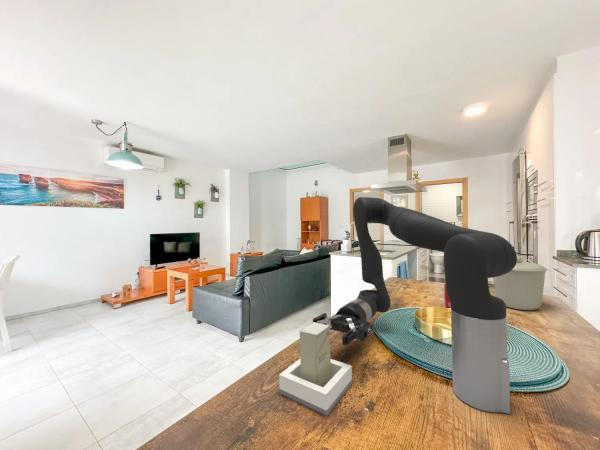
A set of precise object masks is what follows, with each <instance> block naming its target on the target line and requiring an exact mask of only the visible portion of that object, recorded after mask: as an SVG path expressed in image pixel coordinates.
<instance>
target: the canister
mask: <svg viewBox="0 0 600 450" xmlns="http://www.w3.org/2000/svg"><path fill="white" fill-rule="evenodd" d="M548 270H549V269H548V267H544V266H543V265H542V264H538V263H536V262H530V261H529V262H527V261H523V257H522V256H520V255H517V263H516V265H515V267H514V268H513V269H512V270H511V271H510V272H508V273H506V274H504V275H501V276H498V277H493V285H494V291H495V297H498V298H500V299H502V300H503V301H504V302H505V304H506V308H510V309H514V310H520V311H534V310H537V309H539V308H540V307H541V305H542V301H543V295H544V286H545V280H546V279H545V277H546V272H547V271H548Z"/></svg>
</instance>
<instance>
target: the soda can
mask: <svg viewBox="0 0 600 450" xmlns="http://www.w3.org/2000/svg"><path fill="white" fill-rule="evenodd" d="M443 289H444V291H443V296H444V308H445V309H446V308H451V302H450V299H449V297H448V294H447V291H446V281H445V283H444V284H443Z"/></svg>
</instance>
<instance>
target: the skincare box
mask: <svg viewBox="0 0 600 450" xmlns="http://www.w3.org/2000/svg"><path fill="white" fill-rule="evenodd" d="M329 328H330V324H329V325H325V324H320V323H316V322H313V321H312V323H310V324H308V325H307V326H305V327H304V328H302V329H301V330H299V350H300V351H299V353H300V354H299V356H300V358H299V359H300V360H301V379H304V380H306V381H309V382H311V383H314V384H316V385H318V386H321V387H324V386H325V385H326V384H327V383H328V382H329V381H330V380H331V362H330V359H331V338H330V337H331V336H330V333H331V332H329Z"/></svg>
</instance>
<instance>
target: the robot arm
mask: <svg viewBox="0 0 600 450" xmlns="http://www.w3.org/2000/svg"><path fill="white" fill-rule="evenodd" d="M352 207H353V208H352V215H353V222H354V226H355V233H356V236H357V240H358V245H359V251H360V260H361V263H360V264H361V277H362V281H363V282H364V283H367V284H371V285H373V286H374V287H375V289H362V290H361V291H359V293H358V296H357V298H355V299H354V300H352V301H349V302H348V303H346V304H344V305H343V306H342V307H340V308H339V309H338V310H337V312H336V314H335V315H332V316H328V314H327V313H322V314H319V315H318V316H315V317H314V318H313V319H312V323H313V322H316V323H320V324H325V325H329V326H331V327H329V333H332V332H337V333H338V332H340V333H343V334H342V339H341V340H342V341H341V342H342V343H341V344H342V345H343V346H347V345H350V344H351V343H352V342H353V341H357V340H359V342H365V341H366V339H367V338H369V335H370V334H371V322H370V320H372V318H374V316H375V315H376V314H377V313H386V312H388V311H389V310H390V308H391V303H392V302H391V298H390V295H389V291H388V289H387V287H386V286H387V285H386V282H385V279H384V271H383V270H384V269H383V259H382V255H381V253H380V251H379V249H378V247H377V246H376V244H375V243H374V241H373V238H372V236H371V234H370V232H369V225H368V224H381V225H383V226H387V227H388V229H389V231H390V233H391V234H392V236H394V237H395V238H397V239H399V240H400V241H402V242H404V243H406V244H408V245H410V246H414V247H417V248H421V249H425V250H431V251H435V252H441V253H443V269H444V270H443V271H444V278H445V282H446V291H447V294H448V297H449V299H450V302H451V312H450V321H451V322H450V327H451V328H450V329H451V334H452V337H451V359H452V360H451V362H452V363H451V364H452V366H451V367H452V370H451V371H452V377H451V378H452V391H453V392H454V395H456V397H457V398H458V399H459V400H460V401H462V402H464V403H465V404H467V405H468V406H470V407H472V408H475V409H477V410H480V411H484V412H489V413H505V414H508V415H511V393H510V392H511V390H510V388H511V387H510V363H509V362H510V361H509V357H508V330H507V329H508V328H507V327H508V325H507V323H508V322H507V307H506V304H505V302H504V301H503V300H502V299H500V298H498V297H496V295H492V294H491V292H490V288H489V279H491V278H493V277H498V276H501V275H504V274H506V273H508V272H510V271H511V270H512V269H513V268H514V267H515V265H516V263H517V252H516V250H515V247H513V245H512V244H511V243H510V241H508V240H507V239H506V238H504V237H503V236H501V235H498V234H496V233H493V232H488V231H483V230H478V229H473V228H469V227H464V226H459V225H456V224H453V223H451V222H448V221H445V220H443V219H440V218H437V217H434V216H431V215H428V214H426V213H423V212H421V211H419V210H418V211H417V210H414V209H410V208H408V207H403V206H402V207H401V206H397V205H394V204H393V203H392V202H391V203H390V202H388V201H387V200H384V199H383V198H380V197H364V196H359V197H358V198H356V199H355V200H354V203H353V205H352Z"/></svg>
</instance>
